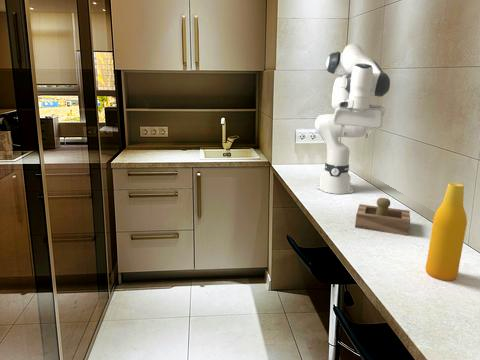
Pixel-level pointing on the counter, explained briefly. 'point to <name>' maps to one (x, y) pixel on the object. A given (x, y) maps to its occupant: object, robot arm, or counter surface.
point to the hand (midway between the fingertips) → (355, 136)
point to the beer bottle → (447, 235)
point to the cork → (382, 206)
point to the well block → (383, 220)
